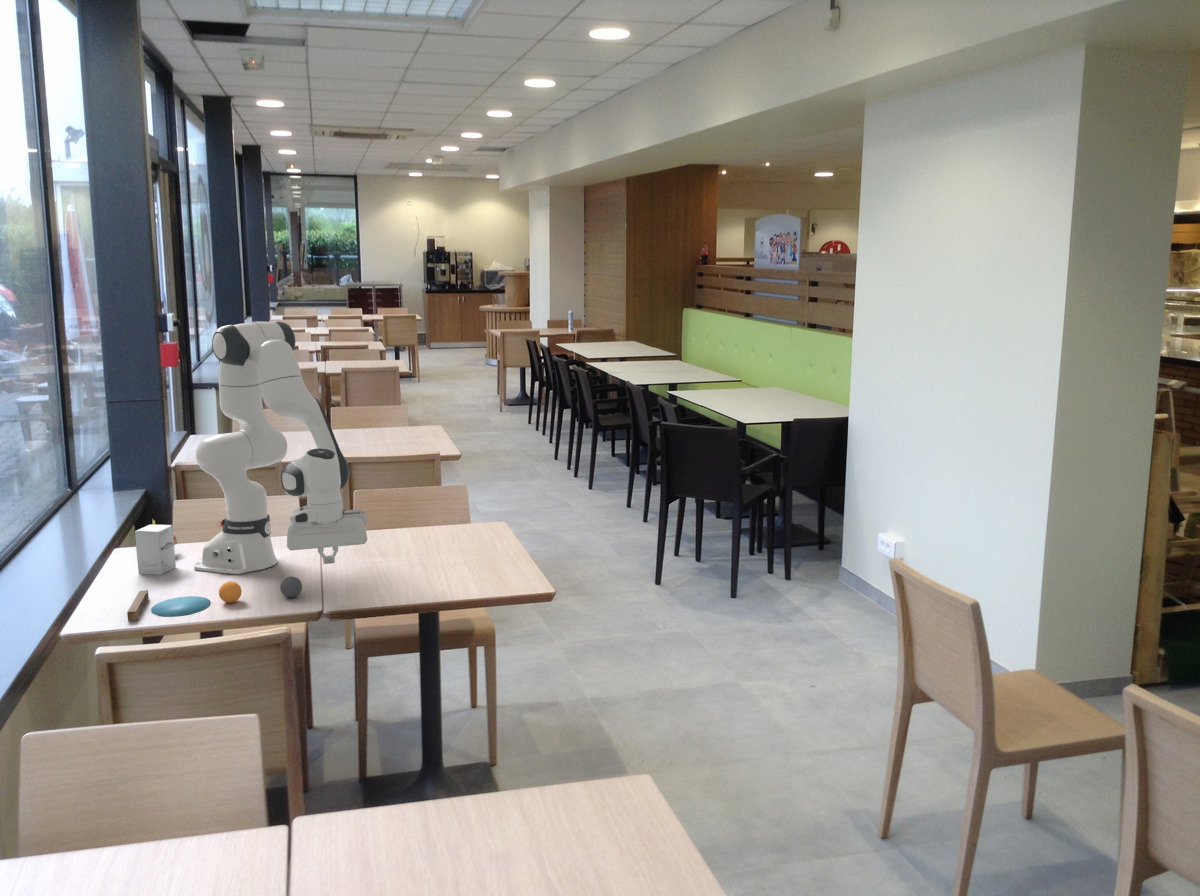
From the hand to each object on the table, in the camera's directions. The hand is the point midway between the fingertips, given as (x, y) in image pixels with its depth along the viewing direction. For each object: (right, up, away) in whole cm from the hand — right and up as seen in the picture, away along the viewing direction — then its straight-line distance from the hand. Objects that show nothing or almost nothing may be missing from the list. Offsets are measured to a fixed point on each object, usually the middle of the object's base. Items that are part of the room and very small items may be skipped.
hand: (329, 563), depth 260 cm
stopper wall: (-46, -11, -9) cm, 48 cm away
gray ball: (-10, -6, -1) cm, 12 cm away
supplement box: (-55, -5, +22) cm, 59 cm away
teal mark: (-36, -10, -7) cm, 38 cm away
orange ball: (-24, -7, -4) cm, 26 cm away
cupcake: (-59, -2, +35) cm, 69 cm away
